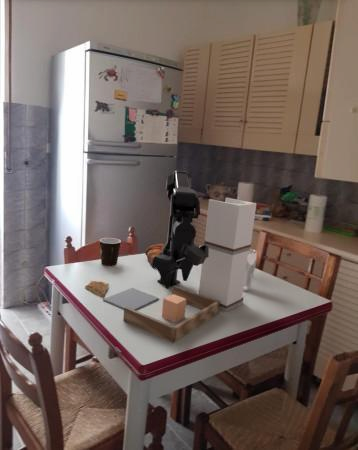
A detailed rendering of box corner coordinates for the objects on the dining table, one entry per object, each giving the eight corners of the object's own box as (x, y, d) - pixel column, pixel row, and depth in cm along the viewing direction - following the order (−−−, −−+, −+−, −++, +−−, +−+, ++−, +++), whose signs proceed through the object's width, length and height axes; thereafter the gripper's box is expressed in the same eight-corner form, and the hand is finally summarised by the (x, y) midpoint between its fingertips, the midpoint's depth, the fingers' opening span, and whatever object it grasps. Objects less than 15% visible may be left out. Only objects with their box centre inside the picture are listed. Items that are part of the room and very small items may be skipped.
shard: (103, 299, 124) (103, 294, 124) (80, 297, 124) (80, 292, 123) (109, 286, 135) (109, 282, 134) (87, 285, 134) (88, 280, 134)
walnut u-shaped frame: (173, 296, 130) (174, 285, 129) (218, 313, 120) (220, 301, 119) (123, 320, 110) (124, 307, 109) (173, 343, 100) (174, 329, 99)
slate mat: (132, 289, 133) (132, 287, 133) (158, 299, 127) (158, 297, 127) (103, 300, 122) (103, 298, 122) (130, 312, 115) (131, 310, 115)
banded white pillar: (242, 303, 130) (256, 203, 122) (225, 311, 122) (239, 205, 114) (215, 292, 137) (227, 197, 130) (198, 300, 129) (209, 199, 121)
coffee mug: (102, 259, 162) (103, 237, 160) (122, 262, 161) (123, 239, 159) (92, 267, 151) (94, 243, 149) (113, 270, 150) (115, 246, 148)
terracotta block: (171, 311, 118) (173, 294, 117) (184, 317, 116) (186, 298, 114) (161, 316, 114) (163, 298, 113) (175, 322, 112) (176, 303, 110)
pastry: (185, 266, 164) (186, 248, 163) (154, 270, 156) (155, 251, 154) (165, 254, 178) (166, 238, 176) (136, 257, 169) (137, 240, 168)
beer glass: (255, 289, 144) (261, 251, 141) (245, 293, 139) (250, 254, 136) (240, 283, 149) (245, 246, 146) (230, 287, 144) (235, 249, 141)
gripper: (186, 246, 98) (180, 301, 101) (220, 235, 113) (214, 284, 116) (152, 236, 104) (148, 289, 107) (189, 227, 119) (185, 274, 122)
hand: (176, 284), depth 113 cm, fingers open, 9 cm apart
